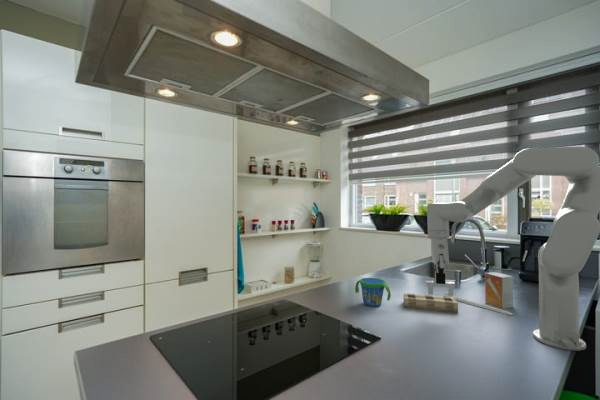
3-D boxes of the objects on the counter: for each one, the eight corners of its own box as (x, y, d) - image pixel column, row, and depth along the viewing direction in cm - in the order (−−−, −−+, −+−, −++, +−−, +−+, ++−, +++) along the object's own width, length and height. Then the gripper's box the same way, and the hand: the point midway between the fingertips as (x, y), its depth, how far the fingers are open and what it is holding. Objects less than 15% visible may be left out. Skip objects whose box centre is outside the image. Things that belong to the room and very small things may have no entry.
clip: (455, 296, 111) (454, 273, 111) (426, 294, 114) (426, 271, 114) (453, 293, 114) (453, 271, 114) (425, 292, 117) (425, 270, 117)
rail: (457, 312, 117) (457, 302, 117) (404, 307, 123) (404, 298, 123) (454, 307, 124) (454, 297, 124) (403, 302, 130) (403, 293, 130)
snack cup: (395, 306, 125) (395, 281, 125) (381, 312, 118) (381, 286, 118) (364, 297, 136) (364, 275, 136) (350, 302, 129) (350, 279, 129)
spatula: (516, 315, 116) (516, 307, 116) (511, 317, 114) (511, 309, 114) (447, 296, 140) (447, 290, 140) (442, 297, 137) (442, 291, 137)
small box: (484, 302, 130) (484, 272, 130) (495, 301, 132) (495, 271, 132) (502, 308, 122) (502, 277, 122) (513, 307, 124) (513, 276, 124)
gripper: (453, 236, 106) (455, 288, 105) (445, 232, 121) (446, 277, 121) (430, 236, 108) (432, 287, 107) (425, 232, 123) (426, 277, 123)
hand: (439, 281), depth 114 cm, fingers closed on clip, 3 cm apart
